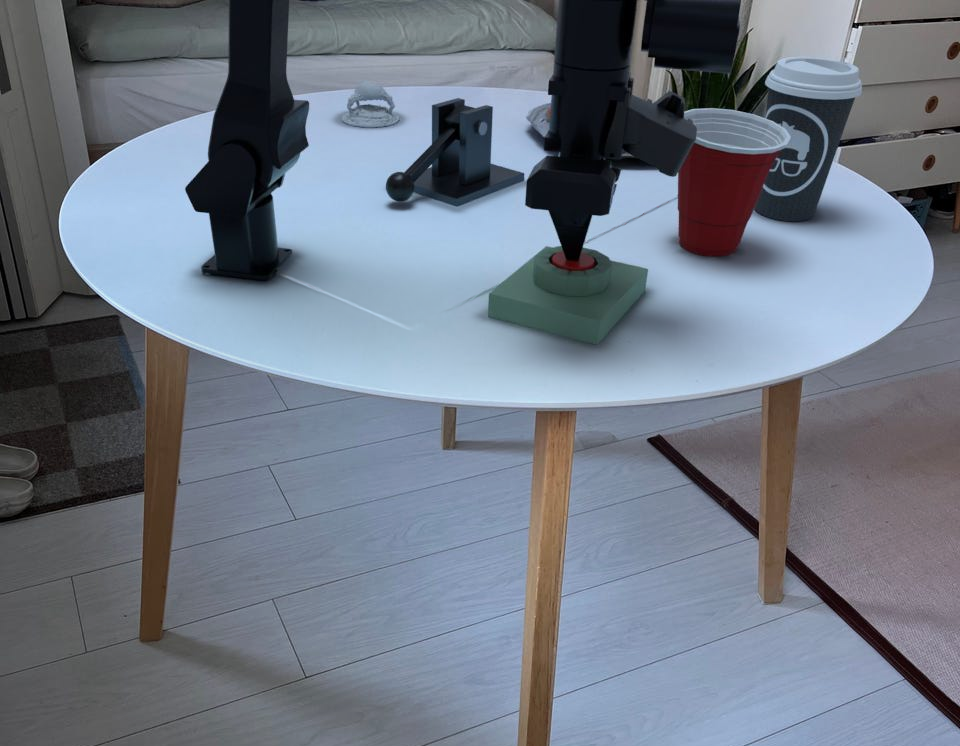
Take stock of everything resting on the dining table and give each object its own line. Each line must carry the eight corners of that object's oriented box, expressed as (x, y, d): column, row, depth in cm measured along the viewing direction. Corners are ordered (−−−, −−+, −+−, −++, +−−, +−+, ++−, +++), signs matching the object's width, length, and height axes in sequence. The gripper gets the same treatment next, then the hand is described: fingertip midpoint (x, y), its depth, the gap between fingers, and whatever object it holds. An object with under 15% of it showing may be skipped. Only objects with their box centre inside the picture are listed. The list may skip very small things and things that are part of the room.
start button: (583, 290, 77) (585, 270, 76) (543, 281, 78) (545, 261, 77) (598, 275, 80) (600, 256, 79) (560, 266, 81) (562, 247, 80)
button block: (597, 345, 74) (602, 300, 72) (487, 317, 78) (489, 272, 75) (645, 291, 83) (651, 249, 81) (544, 267, 86) (547, 226, 84)
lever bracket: (456, 209, 98) (458, 125, 93) (395, 189, 103) (393, 107, 97) (524, 183, 106) (529, 103, 100) (464, 165, 110) (466, 88, 105)
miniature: (392, 129, 121) (391, 90, 119) (335, 125, 122) (332, 87, 119) (404, 113, 128) (403, 76, 125) (349, 109, 128) (347, 72, 126)
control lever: (405, 210, 96) (397, 187, 94) (385, 203, 98) (376, 181, 95) (483, 129, 101) (476, 105, 98) (462, 124, 102) (455, 100, 100)
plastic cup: (706, 277, 86) (732, 147, 79) (633, 237, 93) (650, 115, 86) (787, 255, 91) (818, 131, 84) (711, 220, 98) (733, 102, 91)
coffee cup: (842, 227, 98) (883, 77, 89) (755, 226, 97) (788, 75, 88) (809, 196, 105) (844, 55, 96) (728, 195, 105) (756, 54, 96)
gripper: (698, 102, 60) (662, 318, 69) (702, 45, 75) (672, 230, 84) (531, 88, 62) (517, 300, 71) (567, 35, 77) (553, 217, 86)
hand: (572, 259), depth 78 cm, fingers closed, pressing on start button
